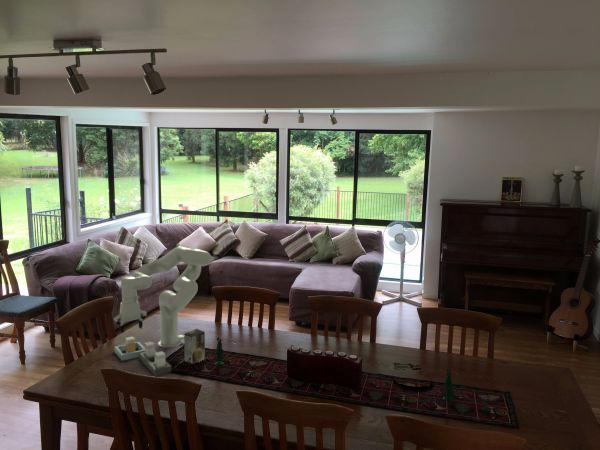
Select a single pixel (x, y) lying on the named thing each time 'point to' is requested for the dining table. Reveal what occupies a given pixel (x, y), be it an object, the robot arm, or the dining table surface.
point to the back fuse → (149, 349)
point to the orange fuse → (130, 344)
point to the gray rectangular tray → (151, 364)
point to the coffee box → (194, 346)
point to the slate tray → (131, 354)
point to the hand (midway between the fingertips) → (131, 329)
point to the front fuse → (159, 359)
